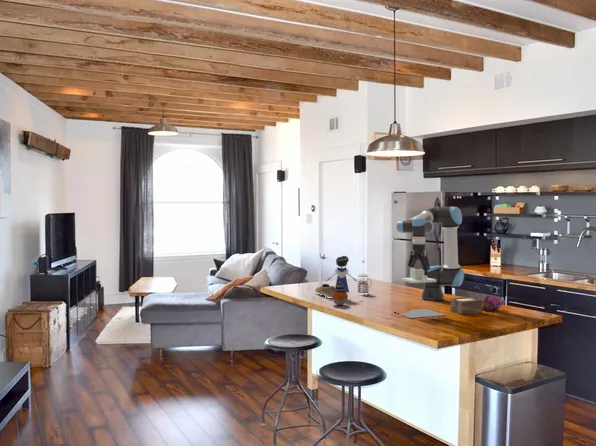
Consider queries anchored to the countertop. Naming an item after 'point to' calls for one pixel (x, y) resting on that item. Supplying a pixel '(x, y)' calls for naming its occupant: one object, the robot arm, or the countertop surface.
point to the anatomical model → (492, 303)
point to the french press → (365, 285)
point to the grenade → (340, 294)
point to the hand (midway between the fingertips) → (418, 279)
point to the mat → (422, 313)
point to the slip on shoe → (325, 290)
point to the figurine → (342, 272)
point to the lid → (417, 277)
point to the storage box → (466, 305)
